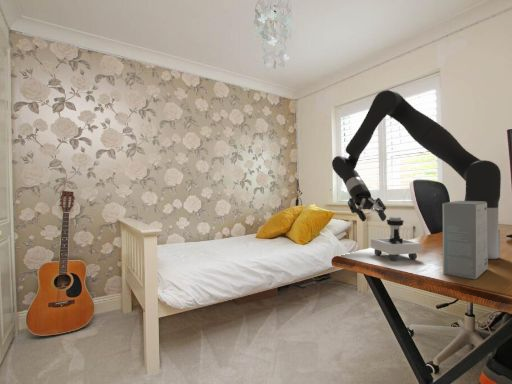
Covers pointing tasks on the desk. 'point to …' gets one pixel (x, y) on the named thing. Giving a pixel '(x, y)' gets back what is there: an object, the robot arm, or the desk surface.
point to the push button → (395, 230)
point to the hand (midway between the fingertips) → (374, 219)
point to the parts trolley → (396, 248)
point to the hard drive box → (465, 238)
